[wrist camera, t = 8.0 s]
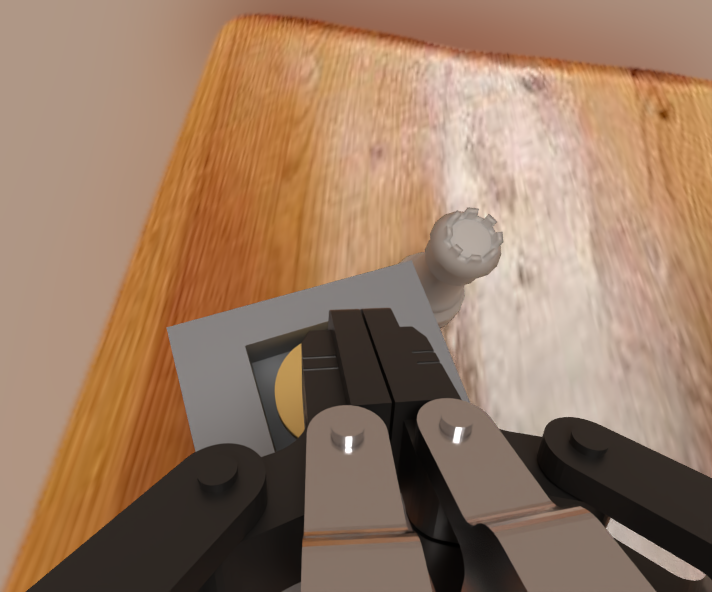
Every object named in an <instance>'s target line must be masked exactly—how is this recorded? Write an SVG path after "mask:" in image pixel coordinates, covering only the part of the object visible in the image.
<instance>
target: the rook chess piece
mask: <svg viewBox="0 0 712 592" xmlns="http://www.w3.org/2000/svg"><path fill="white" fill-rule="evenodd" d="M478 210H479V209H476V208H467V209H466V210H465V212H460V211H458V210H457V211H456V212H453V213H449V214H445V215H444V216H443V217H441V218H440V219H439V220H438V221H437V222H435V224H434V227H433V229H432V231H431V233H430V240H429V242H428V244H427V247H426V249H425V252H421V253H417V254H414V255H410V256H408V257H406V258H404V259H403V260H402V261H401V262H400V263H404V262H407V261H411V260H412V262H413V265H414V267H415V270H416V272H417V274H418V277H419V279H420V282H421V284H422V287H423V289H424V292H425V294H426V296H427V299H428V301H429V304H430V306H431V309H432V311H433V313H434V316H435V318H436V321H437V323H438V326H439V328H441V327H444V326H445V325H446V324H447V323H448V322H449V321H451V320H452V319H453V318H454V316H455V315H456V314H457V313H458V312H459V310H460V307H461V305H462V302H463V300H464V296H465V294H464V285H466V284H469V283H471V282H472V281H474V280H475V279H476V278H479V277H483V276H486V275H488V274H489V273H490V272H491V271H492V270H493V269H494V268H495V267H497V264H498V262H499V259H500V256H501V246H500V245H501V244H502V243H503V234H502V232H495V230H494V228H493V226H494V225H495V224H496V223H497V221H496V220H495V219H494V218H493V217H492V216H491V215H490V214H488V216H487V217H486V218H485V219H483V218H481V217H479V216H477V215H478ZM400 263H399V264H400Z"/></svg>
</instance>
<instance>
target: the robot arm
mask: <svg viewBox="0 0 712 592" xmlns="http://www.w3.org/2000/svg"><path fill="white" fill-rule="evenodd" d="M301 355H302V400H303V414H304V428H305V429H304V431H303V433H302V434H301V435H300V437H299V438H298V439H297V440H296V441H294V442H293V443H292V444H290V445H289V446H287V447H286V448H284V449H282V450H279V451H277V452H274V453H271V454H269V455H266V456H263V457H260V455H259V454H258V453H257V452H256V451H254V450H252V449H251V448H249V447H246V446H244V445H240V444H233V443H222V444H216V445H212V446H208V447H205V448H203V449H201V450H198V451H197V452H195V453H193V454H191V455H190V456H189V457H187V458H186V459H185V460H184V461H182V462H181V463H180V464H179V465H177V466H176V467H175V468H174V469H173V470H171V471H170V472H169V473H168V474H167V475H165V476H164V477H163V478H162V479H161V480H159V481H158V482H157V483H156V484H155V485H153V486H152V487H151V488H150V489H149V490H147V491H146V492H145V493H144V494H143V495H141V496H140V497H139V498H138V499H137V500H135V501H134V502H133V503H132V504H131V505H129V506H128V507H127V508H126V509H125V510H123V511H122V512H121V513H120V514H119V515H117V516H116V517H115V518H114V519H113V520H111V521H110V522H109V523H108V524H107V525H105V526H104V527H103V528H102V529H101V530H99V531H98V532H97V533H96V534H95V535H93V536H92V537H91V538H90V539H89V540H87V541H86V542H85V543H84V544H82V545H81V546H80V547H79V548H78V549H76V550H75V551H74V552H73V553H72V554H70V555H69V556H68V557H67V558H66V559H64V560H63V561H62V562H61V563H60V564H58V565H57V566H56V567H55V568H54V569H52V570H51V571H50V572H49V573H48V574H46V575H45V576H44V577H43V578H42V579H40V580H39V581H38V582H37V583H36V584H34V585H33V586H32V587H31V588H30V589H28V590H27V591H26V592H282V591H284V590H286V589H288V588H289V587H291V586H293V585H295V584H297V583H299V582H301V592H712V478H710V477H708V476H706V475H704V474H702V473H700V472H698V471H695V470H693V469H691V468H689V467H687V466H685V465H683V464H681V463H679V462H677V461H674V460H672V459H670V458H668V457H666V456H664V455H662V454H660V453H658V452H656V451H653V450H651V449H649V448H647V447H645V446H643V445H641V444H639V443H637V442H635V441H632V440H630V439H628V438H626V437H624V436H622V435H620V434H618V433H616V432H614V431H611V430H609V429H607V428H605V427H603V426H601V425H599V424H596V423H594V422H591V421H588V420H585V419H580V418H574V417H563V418H558V419H554V420H553V421H551V422H549V423H548V424H547V426H546V428H545V430H544V433H543V437H539V436H533V435H527V434H521V433H515V432H509V431H505V430H501V429H498V427H497V426H496V424H495V423H494V422H493V420H492V419H491V418H490V417H489V415H488V414H487V413H486V412H484V411H483V410H482V409H480V408H479V407H477V406H475V405H473V404H471V403H469V402H466V401H463V400H462V399H461V397H460V396H459V394H458V392H457V390H456V389H455V387H454V385H453V383H452V381H451V380H450V378H449V376H448V374H447V373H446V371H445V369H444V367H443V365H442V364H441V363H440V360H439V358H438V357H437V355H436V353H434V349H433V348H432V346H431V344H430V342H429V341H428V339H427V337H426V336H425V335H423V334H422V333H420V332H419V331H418V330H416V329H415V328H414V327H412V326H407V327H400V326H399V324H398V322H397V320H396V318H395V316H394V313H393V311H392V309H391V308H365V309H340V310H329V318H328V330H316V331H309V332H308V333H307V335H306V337H305V338H304V340H303V341H302V343H301ZM400 493H401V494H402V497H403V501H404V504H405V511H404V510H403V505H402V500H401V495H400ZM610 518H612V519H614V520H615V521H617V522H619V523H621V524H622V525H624V526H626V527H627V528H629V529H631V530H632V531H634V532H636V533H638V534H639V535H641V536H643V537H644V538H646V539H648V540H650V541H651V542H653V543H655V544H656V545H658V546H660V547H661V548H663V549H665V550H667V551H668V552H670V553H672V554H673V555H675V556H677V557H679V558H680V559H682V560H684V561H685V562H687V563H689V564H690V565H692V566H694V567H696V568H697V569H699V570H700V571H702V572H703V573H705V574H706V576H705V577H704V578H703V579H701V580H697V581H690V580H686V579H682V578H680V577H678V576H676V575H674V574H672V573H670V572H669V571H667V570H666V569H664V568H662V567H661V566H659V565H657V564H656V563H654V562H652V561H651V560H649V559H648V558H646V557H644V556H643V555H641V554H639V553H638V552H636V551H634V550H633V549H631V548H629V547H628V546H626V545H625V544H623V543H621V542H620V541H618V540H616V539H615V538H613V537H612V536H611V535H610V533H609V532H608V531H607V530H606V527H607V525H608V523H609V520H610Z"/></svg>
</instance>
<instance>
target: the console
mask: <svg viewBox="0 0 712 592" xmlns="http://www.w3.org/2000/svg"><path fill="white" fill-rule="evenodd" d="M365 308H391V309H392V311H393V313H394V316H395V318H396V320H397V322H398V324H399V326H400V327H407V326H412V327H414V328H415V329H416V330H418V331H419V332H420V333H422V334H423V335H425V336H426V337H427V339H428V341H429V342H430V344H431V346H432V348H433V349H434V353H436V355H437V357H438V358H439V360H440V363H441V364H442V365H443V367H444V369H445V371H446V373H447V374H448V376H449V378H450V380H451V381H452V383H453V385H454V387H455V389H456V390H457V392H458V394H459V396H460V397H461V399H462V400H463V401H466V402H469V403H470V401H469V399H468V396H467V394H466V391H465V389H464V387H463V384H462V382H461V379H460V377H459V374H458V372H457V370H456V367H455V365H454V362H453V360H452V357H451V355H450V352H449V350H448V348H447V345H446V343H445V340H444V338H443V335H442V333H441V331H440V328H439V326H438V323H437V321H436V318H435V316H434V313H433V311H432V309H431V306H430V304H429V301H428V299H427V296H426V294H425V292H424V289H423V287H422V284H421V282H420V279H419V277H418V274H417V272H416V270H415V267H414V265H413V262H412V260H411V261H407V262H404V263H400V264H397V265H393V266H389V267H386V268H382V269H378V270H375V271H371V272H367V273H364V274H360V275H356V276H353V277H349V278H346V279H342V280H338V281H335V282H331V283H327V284H324V285H320V286H316V287H313V288H309V289H305V290H302V291H298V292H294V293H291V294H287V295H284V296H280V297H276V298H273V299H269V300H265V301H262V302H258V303H254V304H251V305H247V306H243V307H240V308H236V309H233V310H229V311H225V312H222V313H218V314H214V315H211V316H207V317H203V318H200V319H196V320H192V321H189V322H185V323H182V324H178V325H174V326H171V327H167V331H168V336H169V340H170V344H171V348H172V353H173V357H174V361H175V366H176V370H177V374H178V378H179V383H180V387H181V391H182V396H183V400H184V404H185V409H186V413H187V417H188V421H189V426H190V430H191V434H192V439H193V443H194V447H195V451H196V452H197V451H198V450H201V449H203V448H205V447H208V446H212V445H216V444H222V443H233V444H240V445H244V446H246V447H249V448H251V449H252V450H254V451H256V452H257V453H258V454H259V455H260V457H263V456H266V455H269V454H271V453H274V452H277V451H279V450H282V449H284V448H286V447H287V446H289V445H290V444H292V443H293V442H294V441H296V440H297V439H296V438H294V437H293V436H292V435H291V434H290V433H289V432H288V431H287V430H286V429H285V427H284V426H283V424H282V422H281V420H280V418H279V415H278V411H277V406H276V400H275V382H276V377H277V373H278V370H279V368H280V366H281V364H282V362H283V361H284V359H285V358H286V356H287V355H288V354H289V353H290V352H291V351H292V350H293V349H294V348H295V347H297V346H298V345H299V344H301V343H302V341H303V340H304V338H305V337H306V335H307V333H308V332H309V331H316V330H328V318H329V310H340V309H365ZM400 495H401V500H402V505H403V510H404V511H405V504H404V501H403V497H402V494H401V493H400ZM282 592H301V582H299V583H297V584H295V585H293V586H291V587H289V588H288V589H286V590H284V591H282Z"/></svg>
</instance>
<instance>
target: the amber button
mask: <svg viewBox="0 0 712 592" xmlns="http://www.w3.org/2000/svg"><path fill="white" fill-rule="evenodd" d="M275 400H276V406H277V411H278V415H279V418H280V420H281V422H282V424H283V426H284V427H285V429H286V430H287V431H288V432H289V433H290V434H291V435H292V436H293V437H294V438H296V439H298V438H299V437H300V435H301V434H302V433H303V431H304V429H305V428H304V414H303V400H302V355H301V344H299V345H298V346H297V347H295V348H294V349H293V350H292V351H291V352H290V353H289V354H288V355H287V356H286V358H285V359H284V361H283V362H282V364H281V366H280V368H279V370H278V373H277V377H276V382H275Z"/></svg>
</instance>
